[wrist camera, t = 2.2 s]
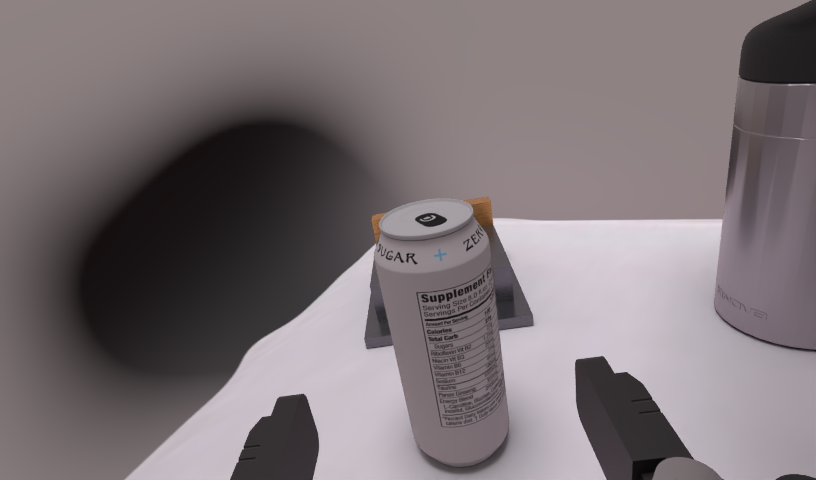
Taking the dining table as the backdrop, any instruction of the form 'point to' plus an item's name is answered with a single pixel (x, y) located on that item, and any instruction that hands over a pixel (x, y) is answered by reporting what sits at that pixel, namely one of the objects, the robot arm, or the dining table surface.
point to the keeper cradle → (506, 285)
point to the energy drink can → (444, 328)
